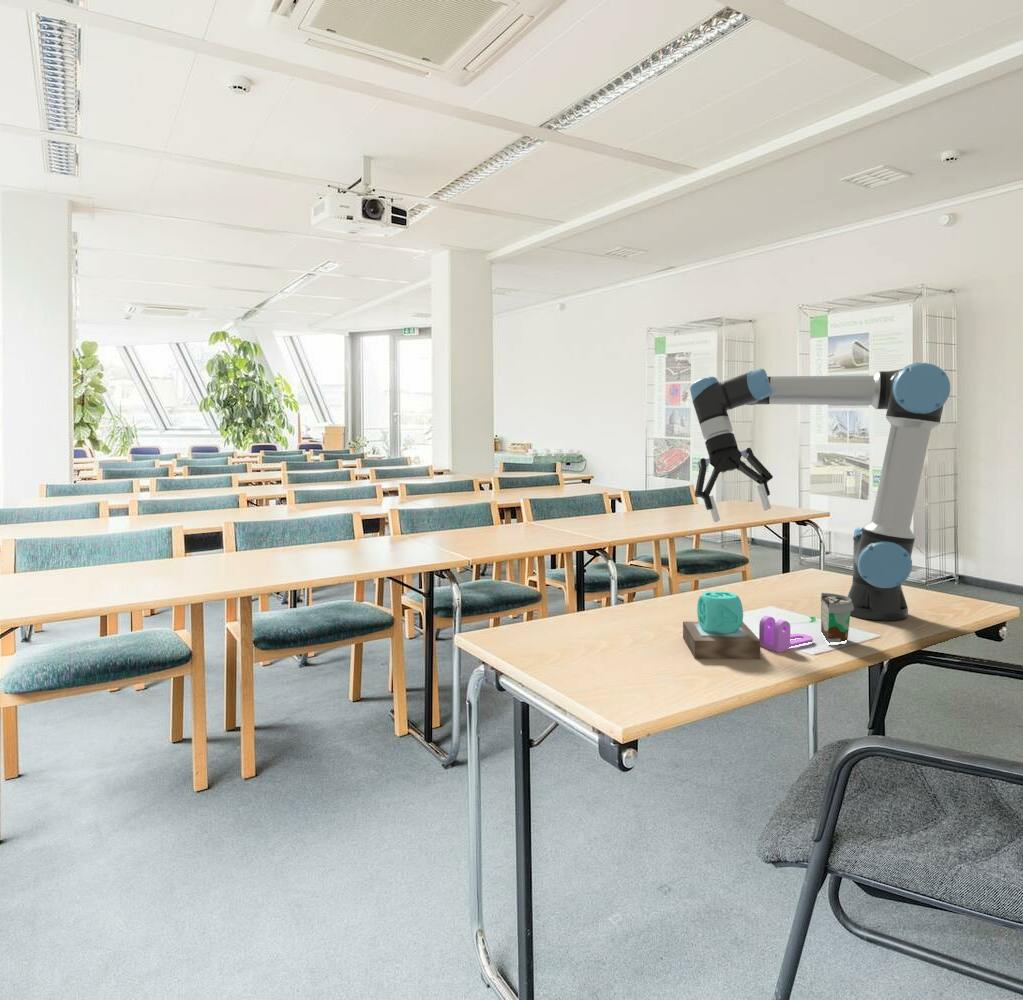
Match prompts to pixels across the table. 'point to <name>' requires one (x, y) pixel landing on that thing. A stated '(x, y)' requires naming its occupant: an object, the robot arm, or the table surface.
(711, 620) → the decorative dice
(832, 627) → the food container
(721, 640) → the plinth
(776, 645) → the bracket
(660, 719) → the table surface
